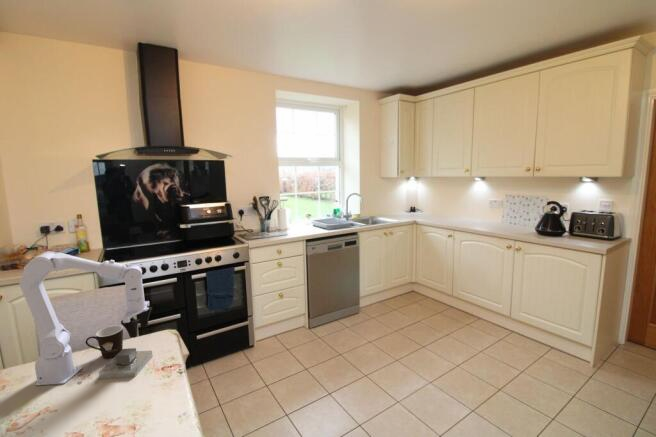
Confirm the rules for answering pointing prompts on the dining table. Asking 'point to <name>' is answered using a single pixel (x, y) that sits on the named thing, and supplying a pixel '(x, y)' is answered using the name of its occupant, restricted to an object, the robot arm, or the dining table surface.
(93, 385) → the dining table surface
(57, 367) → the robot arm
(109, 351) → the coffee mug
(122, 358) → the plug
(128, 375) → the socket
